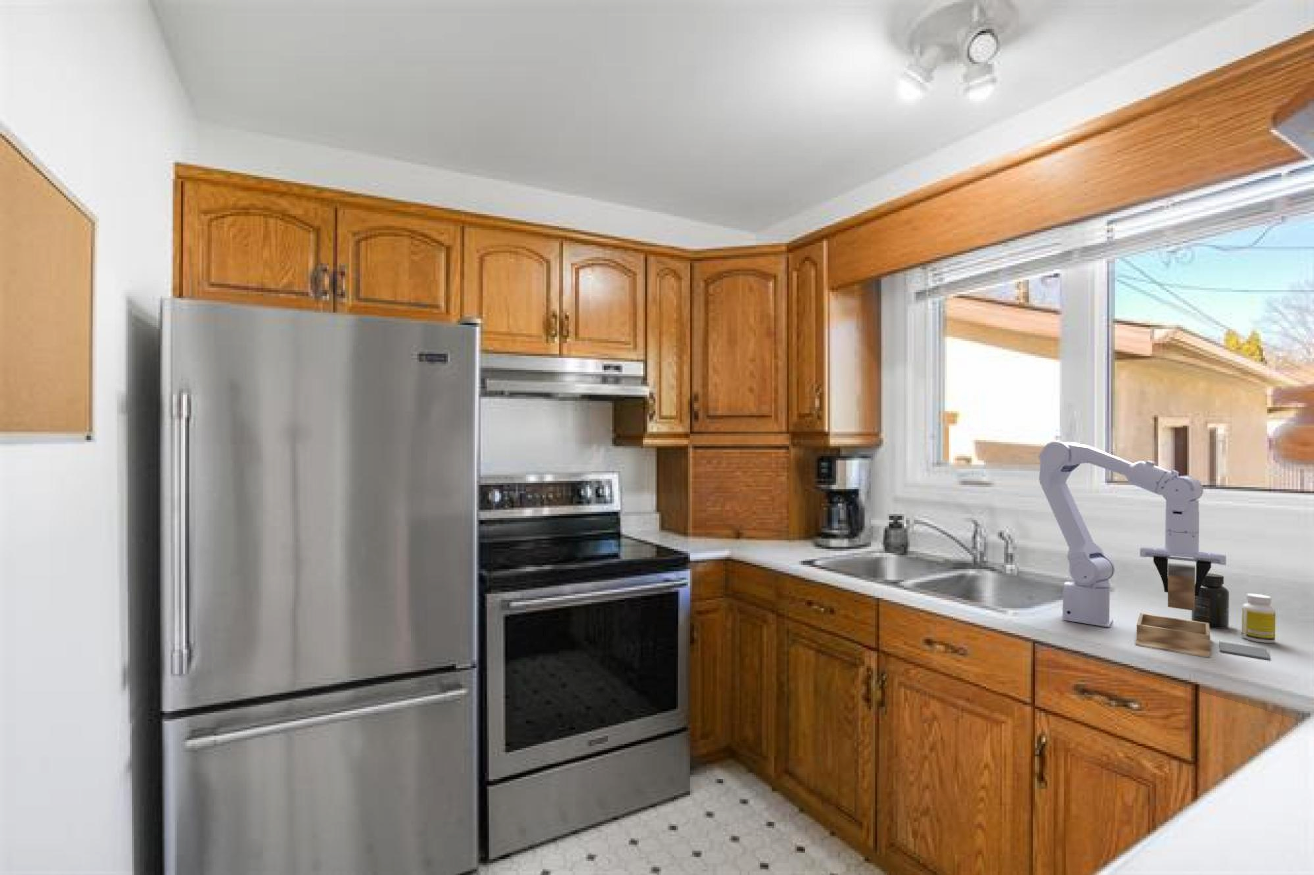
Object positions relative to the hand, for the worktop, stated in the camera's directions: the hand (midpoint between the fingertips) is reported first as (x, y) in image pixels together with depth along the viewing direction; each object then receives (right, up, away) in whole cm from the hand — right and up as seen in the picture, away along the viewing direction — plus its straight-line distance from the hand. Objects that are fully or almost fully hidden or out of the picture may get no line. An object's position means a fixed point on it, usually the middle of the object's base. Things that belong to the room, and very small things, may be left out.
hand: (1181, 593), depth 141 cm
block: (0, -3, 0) cm, 3 cm away
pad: (+8, -11, -6) cm, 15 cm away
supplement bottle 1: (+17, -11, +13) cm, 24 cm away
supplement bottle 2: (+18, -11, +2) cm, 21 cm away
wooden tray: (-1, -10, +1) cm, 10 cm away
